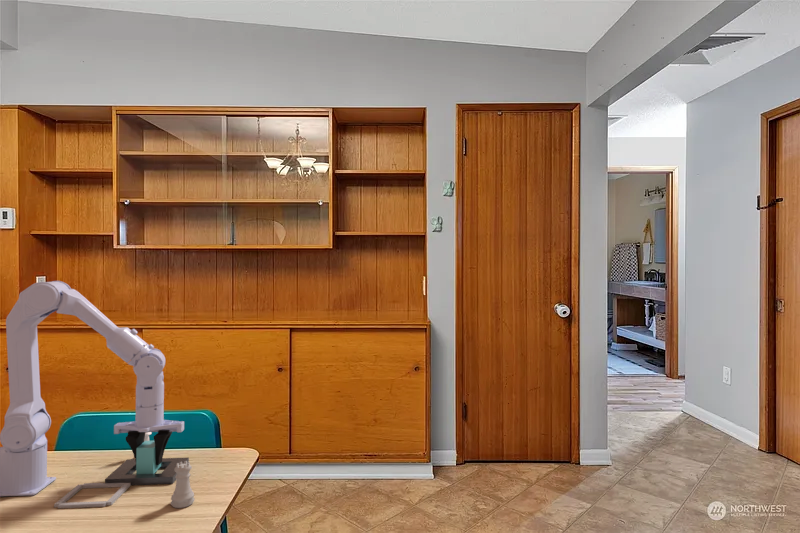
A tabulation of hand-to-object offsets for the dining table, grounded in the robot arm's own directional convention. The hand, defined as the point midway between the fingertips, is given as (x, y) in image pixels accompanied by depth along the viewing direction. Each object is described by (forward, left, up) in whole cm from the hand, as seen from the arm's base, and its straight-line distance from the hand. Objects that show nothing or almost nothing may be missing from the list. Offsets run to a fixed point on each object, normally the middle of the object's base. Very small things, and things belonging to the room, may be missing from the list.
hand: (149, 463), depth 112 cm
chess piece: (-5, +11, -3) cm, 13 cm away
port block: (0, 0, -2) cm, 2 cm away
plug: (0, 0, -2) cm, 2 cm away
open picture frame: (-7, -10, -2) cm, 12 cm away
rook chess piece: (+12, -15, -3) cm, 19 cm away
